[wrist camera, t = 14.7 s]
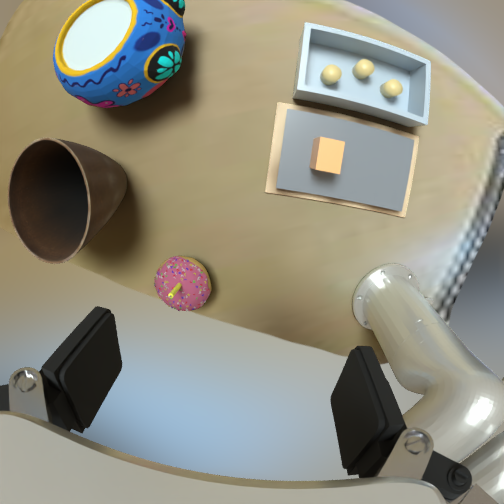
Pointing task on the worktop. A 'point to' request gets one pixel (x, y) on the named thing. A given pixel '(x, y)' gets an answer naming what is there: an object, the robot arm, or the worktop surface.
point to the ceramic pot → (119, 49)
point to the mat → (272, 188)
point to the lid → (344, 160)
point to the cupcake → (182, 283)
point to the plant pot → (62, 197)
